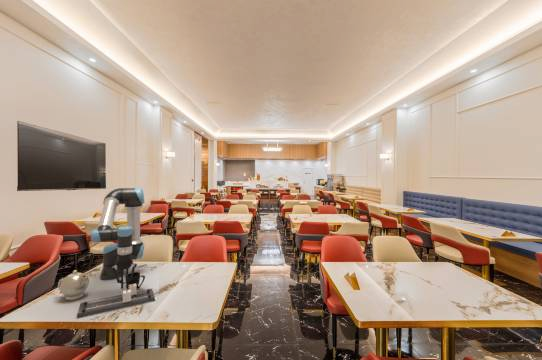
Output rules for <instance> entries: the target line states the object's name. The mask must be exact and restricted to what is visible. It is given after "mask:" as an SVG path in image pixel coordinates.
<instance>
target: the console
mask: <svg viewBox="0 0 542 360" xmlns="http://www.w3.org/2000/svg"><path fill="white" fill-rule="evenodd" d="M153 290H154V289H153V288H147V289H143V290H139V291H137V292H136V294H135V295H131V301H129V302H124V303H123V294H119V295H114V296H108V297H103V298H99V299H94V300H89V301H87V300H86V301H84V302H80V304H79V306H78V310H77V314H76V319H81V318H85V317H89V316H93V315H98V314H102V313H108V312H111V311H115V310H119V309H125V308H128V307H133V306H138V305H143V304H146V303H151V302H155V301H156V300H155V299H156V296H155V294H154V291H153Z"/></svg>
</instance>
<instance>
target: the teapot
mask: <svg viewBox="0 0 542 360" xmlns="http://www.w3.org/2000/svg"><path fill="white" fill-rule="evenodd" d="M89 285H90V279H89V277H88V276H87V274H85V273H83V272H78V270H76V269H74V270H72V273H70V274H68V275H66V277H63V278H60V279H59V281H58V283H57V287H58V290H59V291H60V293H61V294H62V296H65V297H64V298H65V300H66V301H75V300H79V299H81V298H83V297H84V295H85V292H86V290H87V289H88V287H89Z"/></svg>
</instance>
